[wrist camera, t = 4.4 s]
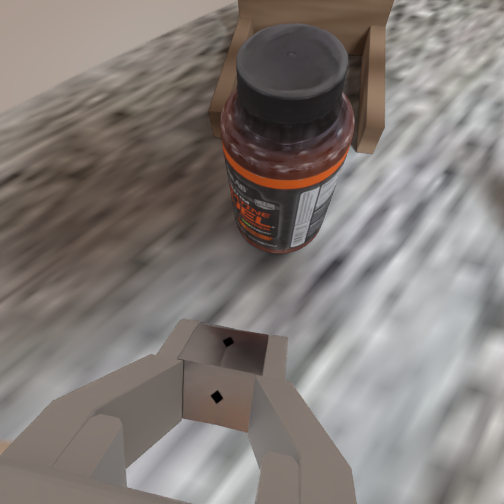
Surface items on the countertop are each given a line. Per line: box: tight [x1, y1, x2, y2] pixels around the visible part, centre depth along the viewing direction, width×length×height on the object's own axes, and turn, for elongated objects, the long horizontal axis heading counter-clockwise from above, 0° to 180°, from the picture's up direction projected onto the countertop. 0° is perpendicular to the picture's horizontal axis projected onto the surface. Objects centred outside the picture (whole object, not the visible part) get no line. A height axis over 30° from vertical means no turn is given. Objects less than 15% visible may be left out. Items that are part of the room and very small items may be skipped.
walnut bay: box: [209, 0, 394, 154], centre depth 24 cm, size 13×12×5 cm
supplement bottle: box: [220, 23, 355, 254], centre depth 16 cm, size 6×6×11 cm
